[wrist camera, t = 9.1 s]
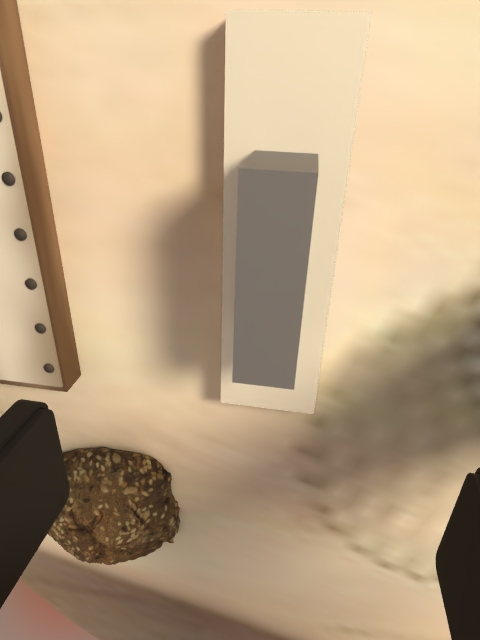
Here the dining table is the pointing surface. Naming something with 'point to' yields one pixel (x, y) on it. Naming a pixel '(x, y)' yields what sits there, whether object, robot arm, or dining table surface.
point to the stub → (284, 195)
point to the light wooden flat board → (28, 236)
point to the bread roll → (115, 506)
